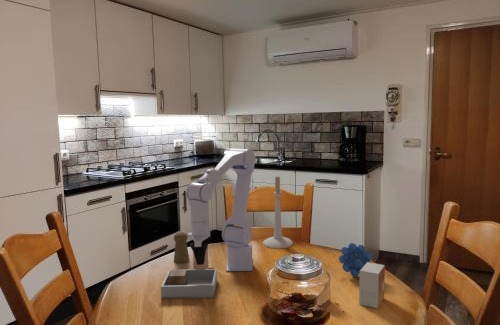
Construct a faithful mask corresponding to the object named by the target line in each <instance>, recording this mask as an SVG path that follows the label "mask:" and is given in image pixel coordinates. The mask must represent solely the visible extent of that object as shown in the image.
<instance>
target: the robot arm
mask: <svg viewBox="0 0 500 325" xmlns="http://www.w3.org/2000/svg"><path fill="white" fill-rule="evenodd" d="M255 163H256V154H255V151H254V150H253V149H252V148H233V147H228V148H227V149H226V150H225V151H224V153H223V157H222V158H221V160H220V162H219V163H218V164H216V166H215V167H214V168H208V169H207V170H206V172H205V173H204V174H203V175H202V176H200V178H199V179H197V181H196V182H192V183H191V184H189V185H188V186H187V188H186V192H185V196H186V198H187V201H188V205H189V207H190V226H191V228H190V229H191V232H188V233H187V236H188V237H189V238H190V237H191V239H192V240H193V242H190V244H189V246H190V249H191V251H192V253H193V252H194V255H195V259H196V263H197V265H204V261H205V253H206V249H207V247H208V248H209V242H210V240H211V238H212V237H211V232H210V213H209V212H210V210H209V209H210V208H209V201H210V200H211V199H212V196H213V193H214V191H215V189H216V188H217V187H218V186H219V184H221V182H222V181H223V176H224V175H225V174H227V172H229V170H232V171H233V172H235V174H236V181H235V182H236V183H235V190H234V195H233V204H232V210H231V217H229V218H227V220H225V221H224V225H223V226H224V227H223V228H222V231H221V238H222V240H223V241H224V242H225V245H226V248H227V252H226V254H227V262H226V269H225V271H226V272H253V264H254V258H253V244H252V243H250V242H251V240H252V235H253V234H252V224H251V223H250V222H249V221H248V219H247V211H248V204H249V196H250V190H251V189H250V188H251V181H252V173H254V172H255V171H254V170H255V165H256V164H255Z"/></svg>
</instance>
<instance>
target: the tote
mask: <svg viewBox="0 0 500 325" xmlns="http://www.w3.org/2000/svg"><path fill="white" fill-rule="evenodd" d="M172 270H173V269H168V271H167V274H166V275H165V277H164V279H163V281H162V283H161V286H160V295H161V296H160V297H161V300H171V299H172V300H174V299H175V300H178V299H183V300H184V299H185V300H186V299H214V297H215V292H216V288H217V283H218V270H217V268H207V269H205V270H195V269H194V268H193V269H190V268H187V269H185V268H184V269H183V268H182V269H181V270H187V283H188V284H187V285H176V286H169V275H170V273H171V271H172Z"/></svg>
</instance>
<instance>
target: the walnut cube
mask: <svg viewBox="0 0 500 325" xmlns="http://www.w3.org/2000/svg"><path fill="white" fill-rule="evenodd" d="M171 270H172V271H171V273H170V275H169V286H176V285H187V284H188V283H187V270H182V269H171Z"/></svg>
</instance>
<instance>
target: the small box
mask: <svg viewBox="0 0 500 325" xmlns="http://www.w3.org/2000/svg"><path fill="white" fill-rule="evenodd" d="M370 262H371V261H370ZM370 262H367V263H366V264H365V265H364V267H363V268H362V269H361V270H360V273H359V282H358V283H359V289H358V290H359V292H358V294H359V295H358V304H359V305H361V306H366V307H369V308H374V309H379V308H380V305H381V304H382V302H383V300H384V299H385V281H386V280H385V277H386V276H385V275H386V272H385V271H386V265H385V264H380V263H374V262H371V263H370ZM383 298H384V299H383ZM380 303H381V304H380Z"/></svg>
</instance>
